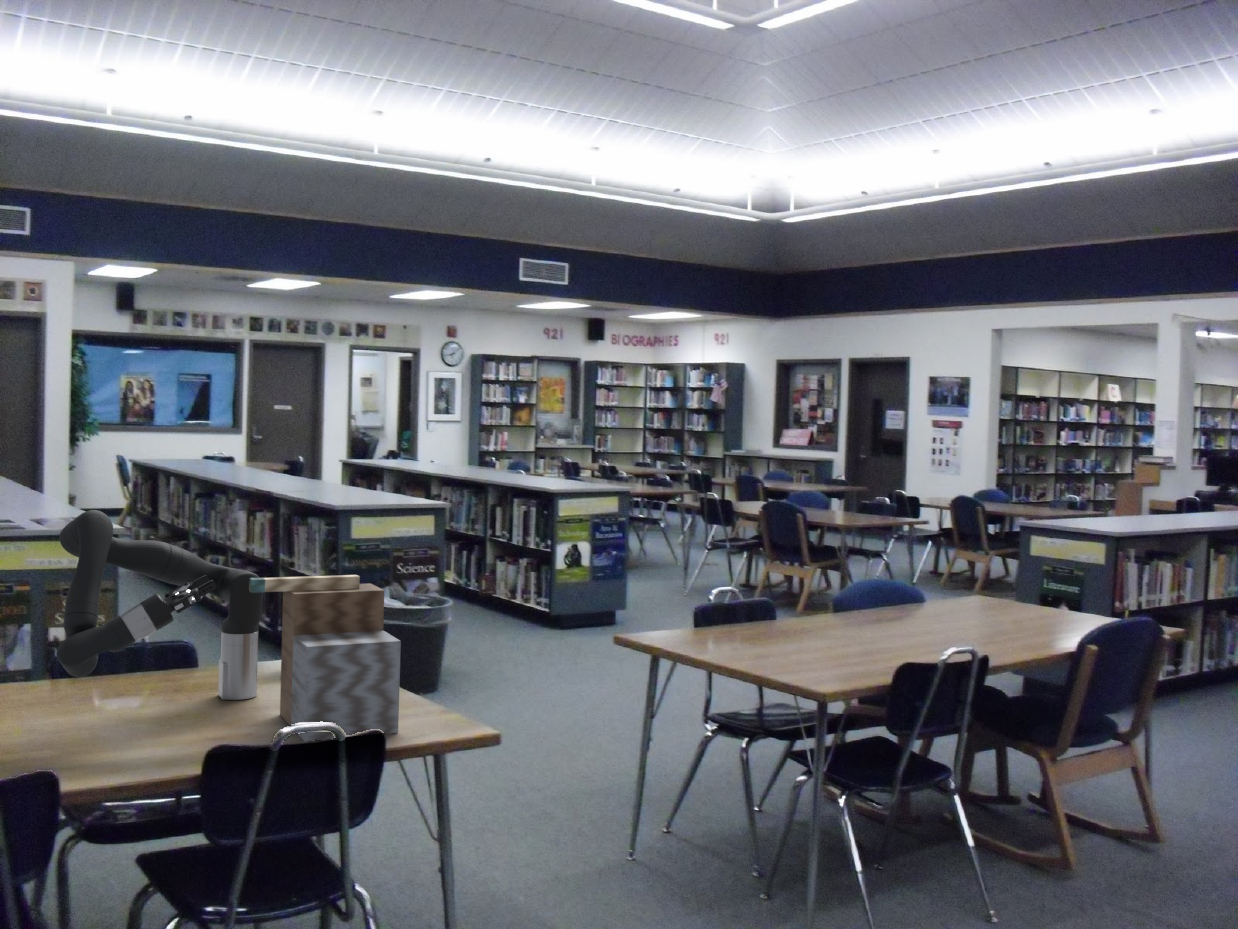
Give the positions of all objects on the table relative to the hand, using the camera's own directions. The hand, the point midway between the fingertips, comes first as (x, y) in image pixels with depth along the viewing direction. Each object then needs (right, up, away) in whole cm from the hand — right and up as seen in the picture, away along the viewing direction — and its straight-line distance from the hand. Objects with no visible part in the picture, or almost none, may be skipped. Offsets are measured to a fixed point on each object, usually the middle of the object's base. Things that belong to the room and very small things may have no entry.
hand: (211, 580), depth 270 cm
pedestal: (+27, -36, +9) cm, 46 cm away
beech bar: (+19, -3, +11) cm, 22 cm away
